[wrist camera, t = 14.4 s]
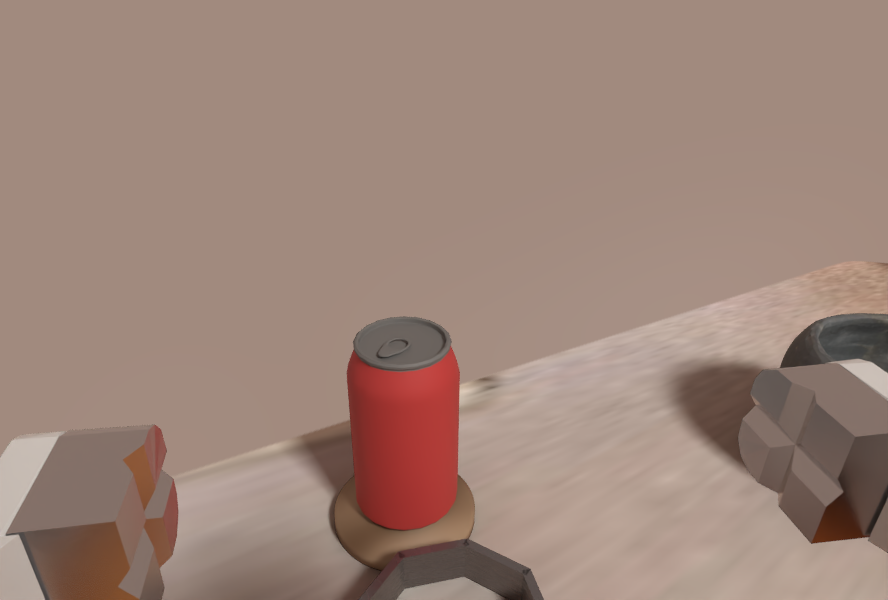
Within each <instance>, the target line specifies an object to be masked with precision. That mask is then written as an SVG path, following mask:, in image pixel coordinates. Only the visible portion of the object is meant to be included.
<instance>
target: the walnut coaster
mask: <svg viewBox="0 0 888 600" xmlns="http://www.w3.org/2000/svg"><path fill="white" fill-rule="evenodd" d="M474 514H475V504H474V498H473V495H472V492H471V490H470V488H469V487H468V485H467V484H466V482H465V481H464V480H463V479H462V478H461V477H460V476H459V475H458V477H457V494H456V500H455V502H454V503H453V505H452V507H451V508H450V510H449V511H448V513H447V514H446V515H444V516H443V517H442V518H441V519H439V520H438V521H437V522H435V523H433V524H431V525H428V526H426V527H423V528H421V529H414V530H407V531H403V530H395V529H389V528H386V527H384V526H381V525H379V524H376V523H374V522H373V521H372V520H370V519H369V518H368V517H367V516H366V515H364V513H363V512H362V510H361V508H360V507H359V505H358V503H357V499H356V486H355V475H354V476H353V477H352V478H351V479H350V480H349V481H348V482H347V483H346V484H345V485H344V487H343V488H342V490H341V491H340V493H339V495H338V497H337V500H336V503H335V510H334V515H335V527H336V532H337V535H338V538H339V540H340V542H341V544H342V545H343V547H344V548H345V549H346V551H347V552H348V553H349V554H350V555H351V556H353V557H354V558H355V559H356V560H358V561H360V562H361V563H363V564H365V565H367V566H369V567H371V568H375V569H378V570H381V571H382V570H383V569H384V568H385V567H386V566H387V564H388V563H389V562H390V561H391V560H392V558H393V557H394V556H395V555H396V554H397V552H398V551H403V550H408V549H414V548H419V547H424V546H429V545H435V544H440V543H445V542H451V541H456V540H461V539H466V538H467V539H469V537H470V535H471V532H472V530H473V525H474Z"/></svg>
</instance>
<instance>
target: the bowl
mask: <svg viewBox="0 0 888 600" xmlns="http://www.w3.org/2000/svg"><path fill="white" fill-rule="evenodd" d="M852 359H861V360H865V361H869V362H872V363H874V364H875V365H877V366H878V367H879V368H881V369H882V370H884V371H885V372H887V373H888V315H887V314H867V313H856V314H841V315H836V316H831V317H827V318H824V319H821V320H818V321H816V322H814V323H813V324H811V325H810V326H808V327H807V328H806V329H805V330H804V331H803V332H801V333H800V334H799V335H798V336H797V337H796V338H795V339H794V341H793V342H792V344H791V345H790V347H789V348H788V350H787V352H786V354H785V356H784V358H783V360H782V363H781V367H780V368H788V367H798V366H809V365H819V364H825V363H827V362H835V361H844V360H852Z"/></svg>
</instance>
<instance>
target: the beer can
mask: <svg viewBox="0 0 888 600" xmlns="http://www.w3.org/2000/svg"><path fill="white" fill-rule="evenodd" d="M353 344H354V350H353V352H352V355H351V358H350V361H349V364H348V369H347V383H348V396H349V409H350V422H351V435H352V448H353V460H354V473H355V486H356V499H357V503H358V505H359V507H360V508H361V510H362V512H363V513H364V515H366V516H367V517H368V518H369V519H370V520H372V521H373V522H374V523H376V524H379V525H381V526H384V527H386V528H389V529H395V530H403V531H407V530H414V529H421V528H423V527H426V526H428V525H431V524H433V523H435V522H437V521H438V520H439V519H441V518H442V517H443V516H444V515H446V514H447V513H448V511H449V510H450V508H451V507H452V505H453V503H454V502H455V500H456V494H457V477H458V429H459V381H460V380H459V379H460V372H459V368H458V363H457V360H456V357H455V355H454V352H453V350H452V348H451V338H450V335H449V333H448V332H447V331H446V330H445V329H444V328H443V327H442V326H440V325H438V324H436V323H434V322H432V321H430V320H426V319H422V318H417V317H394V318H387V319H383V320H379V321H376V322H374V323H371V324H369V325H367V326H366V327H364V328H363V329H362V330H361V331H360V332H358V333H357V335H356V337H355V339H354V341H353Z"/></svg>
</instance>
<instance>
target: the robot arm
mask: <svg viewBox="0 0 888 600" xmlns="http://www.w3.org/2000/svg"><path fill="white" fill-rule="evenodd" d="M750 395H751V397H752V399H753V401H754V403H755V405H756V406H755V407H754V408H753V409H752V410H751V411H750V412H749V413H748V414H747V415H746V416H745V417H744V418H743V419H742V423H741V427H740V431H739V435H738V442H739V448H740V455H741V458H742V460H743V462H744V464H745V466H746V468H747V470H748V471H749V472H750V473H751V475H752V476H753V477H754V478H755V479H756V481H757V482H758V483H760V484H762V485H763V486H765V487H767V488H769V489H771V490H773V491H775V492H777V493H778V505H779V507H780V509H781V510H782V511H783V512H784V513H785V514H786V515H787V517H788V518H789V519H790V520H791V521H792V522H793V523H794V525H795V526H796V527H797V528H798V529H799V530H800V531H801V533H802V534H803V535H804V536H805V537H806V538H807V539H808V541H809V542H810V543H811V544H813V543H822V542H830V541H839V540H848V539H857V538H866V537H869V539H868V541H870V542H871V543H873V544H874V545H876V546H878V547H879V548H881V549H882V550H884V551H886V552H887V553H888V373H887V372H885V371H884V370H882V369H881V368H879V367H878V366H877V365H875V364H874V363H872V362H869V361H865V360H861V359H852V360H844V361H835V362H827V363H825V364H819V365H809V366H798V367H788V368H777V369H767V370H762V372H761V373H760V374H759V375H758V376H757V377H756V378H755V380H754V383H753V386H752V389H751V393H750ZM166 452H167V450H166V446H165V442H164V439H163V435H162V432H161V429H160V428H158V427H157V426H156V425H142V426H127V427H113V428H100V429H84V430H71V431H67V432H63V431H60V432H48V433H36V434H24V435H21V436H19V437H17V438H15V439H13V440H12V441H11V442H10V443H9V444H8V446H7V447H6V449H5V450H4V452H3V453H2V455H1V456H0V600H161V599H162V595H163V591H164V584H163V580H162V576H161V572H160V569H159V568H160V567H161V566H162V565H163V564H164V563H165V562H166V561H167V560H168V559H169V558H171V557H172V555H173V550H174V546H175V541H176V537H177V525H178V502H177V493H176V488H175V484H174V479H173V478H172V477H171V476H169V475H168V474H166V473H165V472H164V471H163V470H161V469H162V465H163V462H164V459H165V455H166Z"/></svg>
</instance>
